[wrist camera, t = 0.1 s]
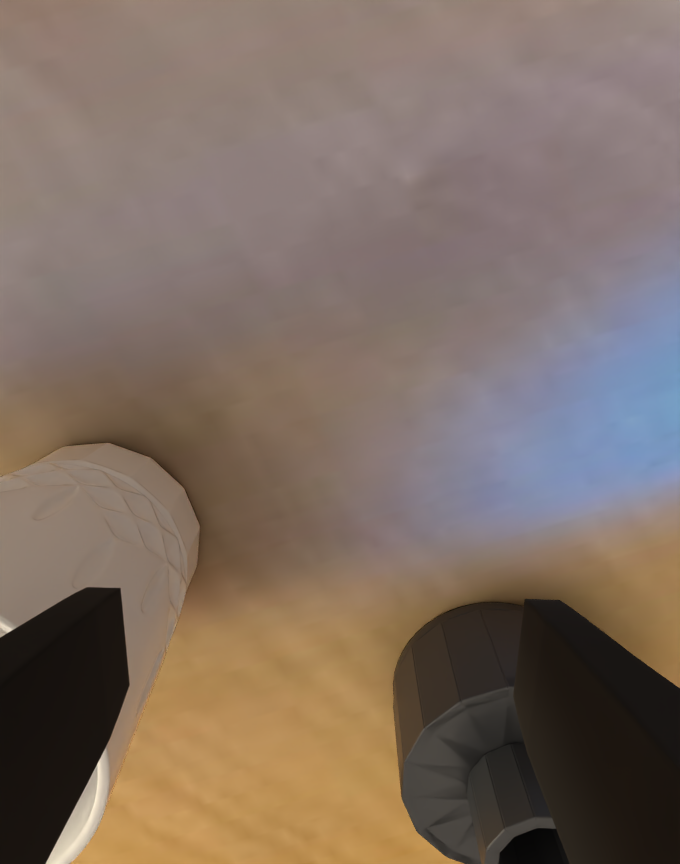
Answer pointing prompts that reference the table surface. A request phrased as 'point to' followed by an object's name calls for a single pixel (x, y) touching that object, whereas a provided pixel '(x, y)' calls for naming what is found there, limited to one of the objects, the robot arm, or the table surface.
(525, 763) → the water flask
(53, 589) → the white cup
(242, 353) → the table surface
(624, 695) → the robot arm
